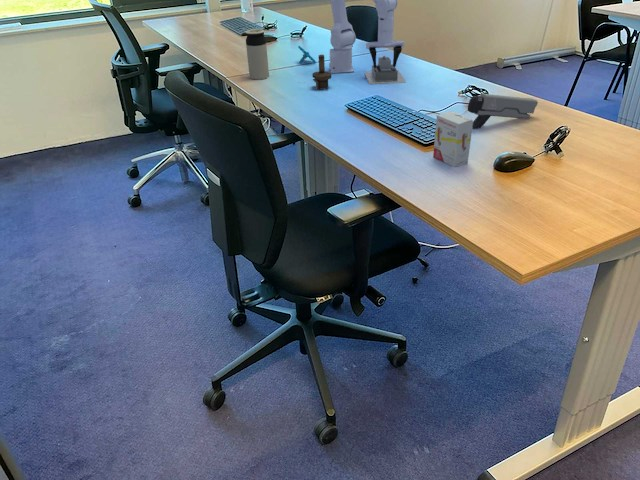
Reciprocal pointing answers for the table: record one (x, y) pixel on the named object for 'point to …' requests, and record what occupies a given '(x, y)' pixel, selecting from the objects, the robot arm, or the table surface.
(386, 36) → the robot arm
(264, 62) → the travel mug
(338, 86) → the table surface
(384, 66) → the servo
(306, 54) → the teal angled stand
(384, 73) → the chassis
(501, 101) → the gun
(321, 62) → the industrial component
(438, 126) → the ink box
